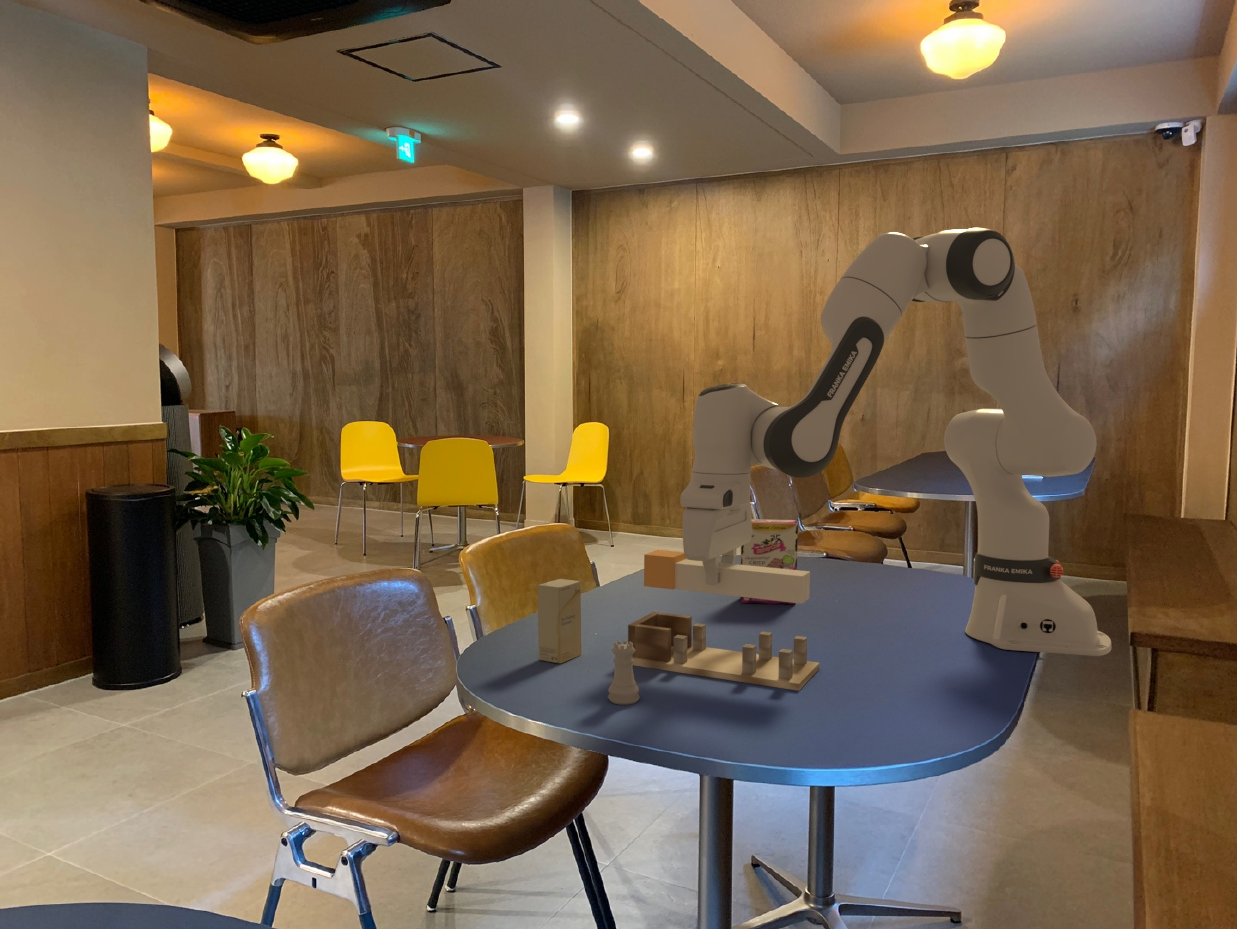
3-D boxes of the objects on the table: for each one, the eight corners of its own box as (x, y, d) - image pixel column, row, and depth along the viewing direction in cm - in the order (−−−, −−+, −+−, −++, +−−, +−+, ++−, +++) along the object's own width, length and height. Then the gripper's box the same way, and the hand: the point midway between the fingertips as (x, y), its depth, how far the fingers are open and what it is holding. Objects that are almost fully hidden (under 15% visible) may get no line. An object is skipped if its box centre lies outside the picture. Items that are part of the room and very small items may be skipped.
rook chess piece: (615, 707, 122) (615, 649, 121) (602, 697, 126) (602, 641, 125) (645, 703, 124) (645, 645, 123) (631, 692, 128) (631, 637, 127)
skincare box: (559, 665, 141) (559, 587, 140) (537, 660, 143) (536, 584, 142) (582, 654, 146) (582, 580, 145) (560, 650, 148) (559, 577, 147)
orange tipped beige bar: (810, 597, 134) (811, 564, 134) (801, 604, 130) (801, 570, 130) (657, 580, 146) (657, 549, 145) (643, 586, 141) (644, 554, 141)
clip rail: (819, 669, 138) (819, 630, 137) (799, 690, 128) (799, 649, 128) (652, 645, 151) (652, 610, 150) (622, 663, 141) (622, 626, 140)
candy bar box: (740, 604, 179) (740, 522, 178) (739, 598, 184) (740, 518, 183) (797, 605, 178) (798, 522, 177) (795, 599, 183) (796, 519, 182)
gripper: (725, 483, 148) (723, 567, 149) (675, 496, 129) (674, 591, 131) (762, 485, 145) (760, 571, 146) (716, 498, 127) (715, 596, 128)
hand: (719, 581), depth 138 cm, fingers closed on orange tipped beige bar, 4 cm apart
